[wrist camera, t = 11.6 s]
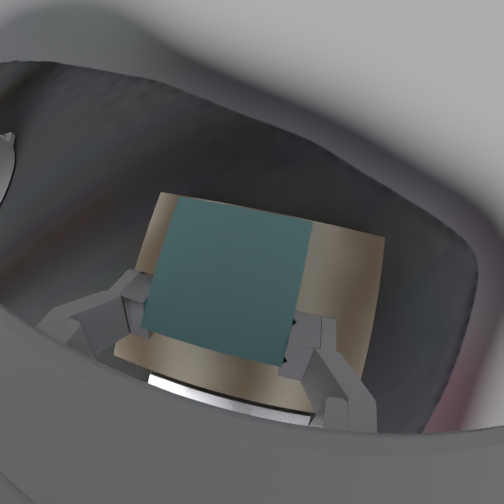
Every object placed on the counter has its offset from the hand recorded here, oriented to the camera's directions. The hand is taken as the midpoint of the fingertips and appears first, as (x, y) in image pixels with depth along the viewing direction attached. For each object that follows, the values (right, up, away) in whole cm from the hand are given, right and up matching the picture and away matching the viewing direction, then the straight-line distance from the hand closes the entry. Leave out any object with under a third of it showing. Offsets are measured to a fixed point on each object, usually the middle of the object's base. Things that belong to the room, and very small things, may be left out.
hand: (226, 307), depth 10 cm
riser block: (+1, -2, +11) cm, 11 cm away
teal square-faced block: (+1, -1, +6) cm, 6 cm away
